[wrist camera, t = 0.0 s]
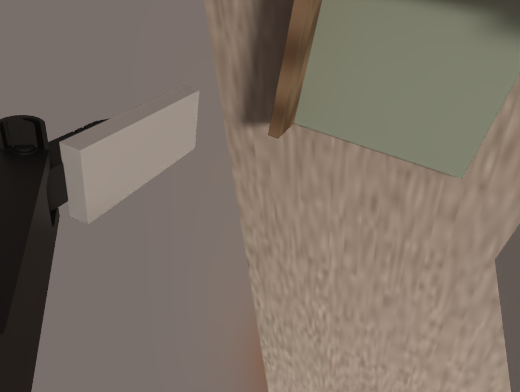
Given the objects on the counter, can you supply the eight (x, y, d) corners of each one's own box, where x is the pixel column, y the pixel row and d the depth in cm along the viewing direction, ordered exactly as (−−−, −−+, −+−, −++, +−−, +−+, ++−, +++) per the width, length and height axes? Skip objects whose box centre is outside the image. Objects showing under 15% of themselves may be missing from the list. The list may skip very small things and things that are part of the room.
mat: (326, -64, 36) (323, -65, 36) (564, -16, 31) (567, -15, 31) (287, 117, 46) (284, 119, 46) (462, 174, 42) (462, 178, 41)
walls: (326, -64, 36) (307, -67, 32) (564, -16, 31) (583, -11, 27) (287, 117, 46) (267, 135, 42) (462, 174, 42) (462, 202, 37)
